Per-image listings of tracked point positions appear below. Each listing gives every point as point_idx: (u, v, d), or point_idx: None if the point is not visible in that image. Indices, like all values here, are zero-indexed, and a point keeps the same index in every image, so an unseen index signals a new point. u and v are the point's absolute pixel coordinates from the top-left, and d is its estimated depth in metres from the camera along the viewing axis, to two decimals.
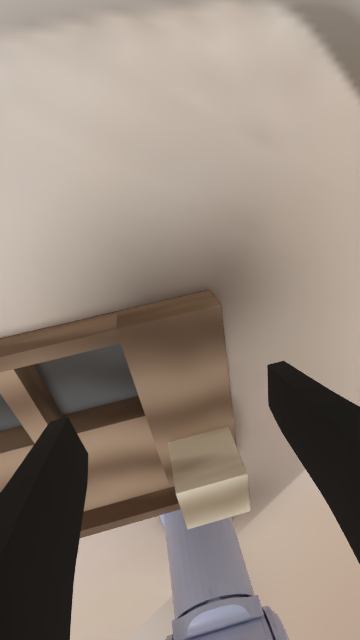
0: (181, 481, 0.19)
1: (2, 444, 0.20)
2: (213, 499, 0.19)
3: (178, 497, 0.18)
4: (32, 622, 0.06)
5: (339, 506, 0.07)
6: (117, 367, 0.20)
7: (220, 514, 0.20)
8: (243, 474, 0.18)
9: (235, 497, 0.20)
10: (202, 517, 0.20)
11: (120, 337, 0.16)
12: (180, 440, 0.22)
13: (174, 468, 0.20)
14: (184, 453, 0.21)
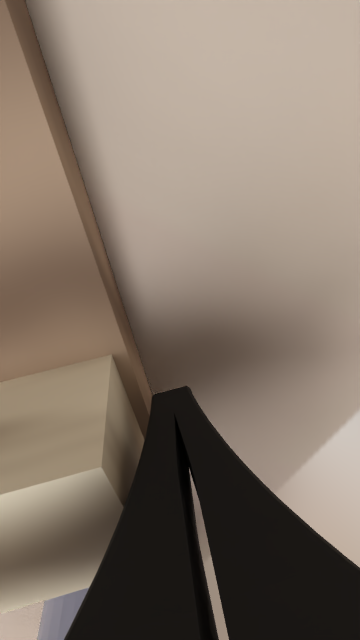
0: None
1: None
2: (17, 545, 0.06)
3: None
4: (200, 571, 0.06)
5: None
6: None
7: (66, 579, 0.07)
8: (89, 469, 0.06)
9: (91, 537, 0.07)
10: (12, 591, 0.07)
11: None
12: None
13: None
14: None
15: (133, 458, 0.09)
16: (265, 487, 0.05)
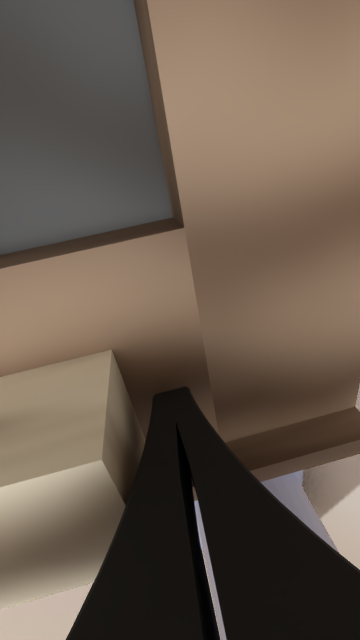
0: None
1: None
2: (16, 540, 0.06)
3: None
4: (201, 570, 0.06)
5: None
6: (110, 110, 0.08)
7: (65, 575, 0.07)
8: (89, 462, 0.06)
9: (91, 533, 0.07)
10: (10, 587, 0.07)
11: None
12: None
13: None
14: None
15: (133, 454, 0.08)
16: (264, 487, 0.05)
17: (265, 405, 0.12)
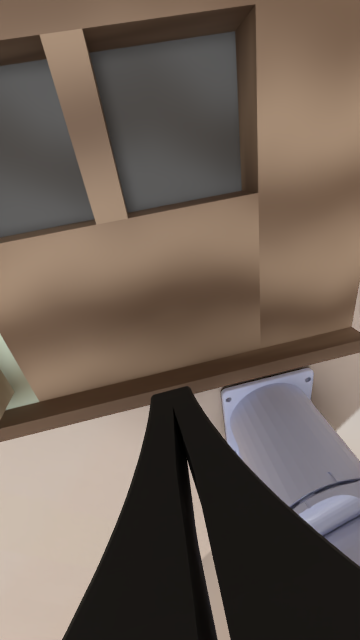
0: None
1: (45, 232, 0.13)
2: None
3: None
4: (198, 571, 0.06)
5: None
6: (215, 125, 0.14)
7: None
8: None
9: None
10: None
11: None
12: None
13: None
14: None
15: None
16: (266, 487, 0.05)
17: (293, 319, 0.17)
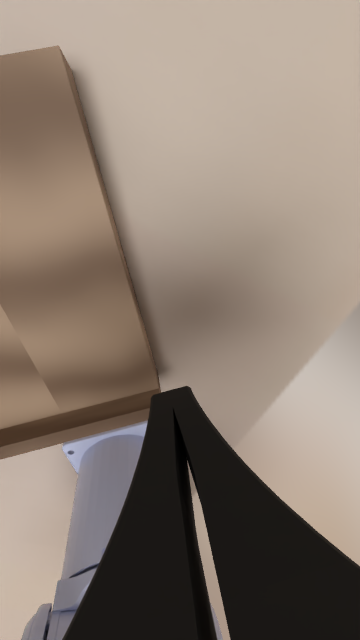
0: None
1: None
2: None
3: None
4: (198, 571, 0.06)
5: None
6: None
7: None
8: None
9: None
10: None
11: None
12: None
13: None
14: None
15: None
16: (266, 487, 0.05)
17: (86, 386, 0.17)
